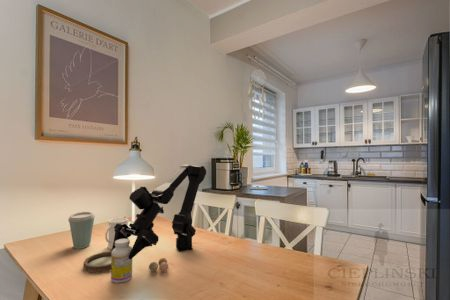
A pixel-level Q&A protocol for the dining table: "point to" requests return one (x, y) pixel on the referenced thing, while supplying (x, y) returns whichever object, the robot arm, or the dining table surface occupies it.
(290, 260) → the dining table surface
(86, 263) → the faceted wooden bowl
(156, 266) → the bead maple
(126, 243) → the supplement bottle
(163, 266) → the pinkish tan ball
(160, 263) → the bead honey
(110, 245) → the mug
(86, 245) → the disposable coffee cup
